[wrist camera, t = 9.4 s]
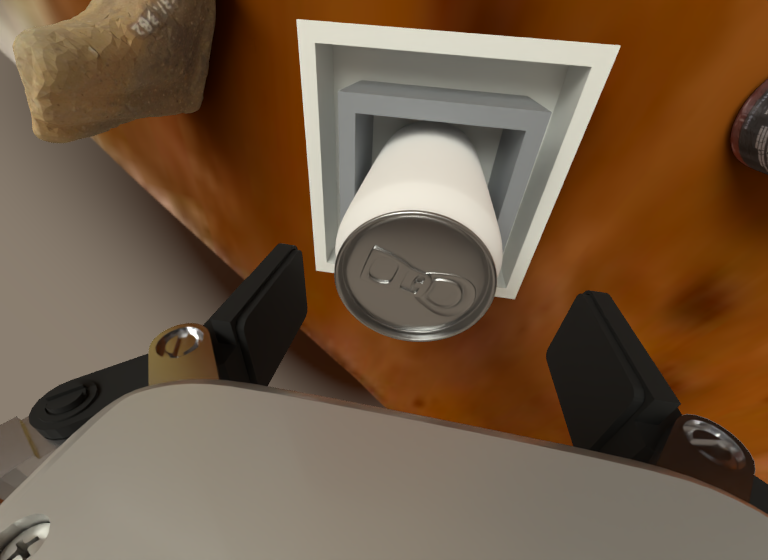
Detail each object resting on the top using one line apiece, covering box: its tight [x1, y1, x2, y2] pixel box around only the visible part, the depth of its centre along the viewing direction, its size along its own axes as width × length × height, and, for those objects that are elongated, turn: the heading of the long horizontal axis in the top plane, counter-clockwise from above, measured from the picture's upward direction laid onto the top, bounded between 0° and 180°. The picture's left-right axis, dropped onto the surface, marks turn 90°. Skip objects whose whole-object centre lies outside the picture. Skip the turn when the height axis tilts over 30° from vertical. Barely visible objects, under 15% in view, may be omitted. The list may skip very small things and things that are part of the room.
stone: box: [13, 0, 216, 143], centre depth 15 cm, size 9×5×10 cm, turn 146°
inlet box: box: [297, 19, 620, 299], centre depth 19 cm, size 14×14×6 cm
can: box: [334, 120, 503, 342], centre depth 16 cm, size 6×6×12 cm
